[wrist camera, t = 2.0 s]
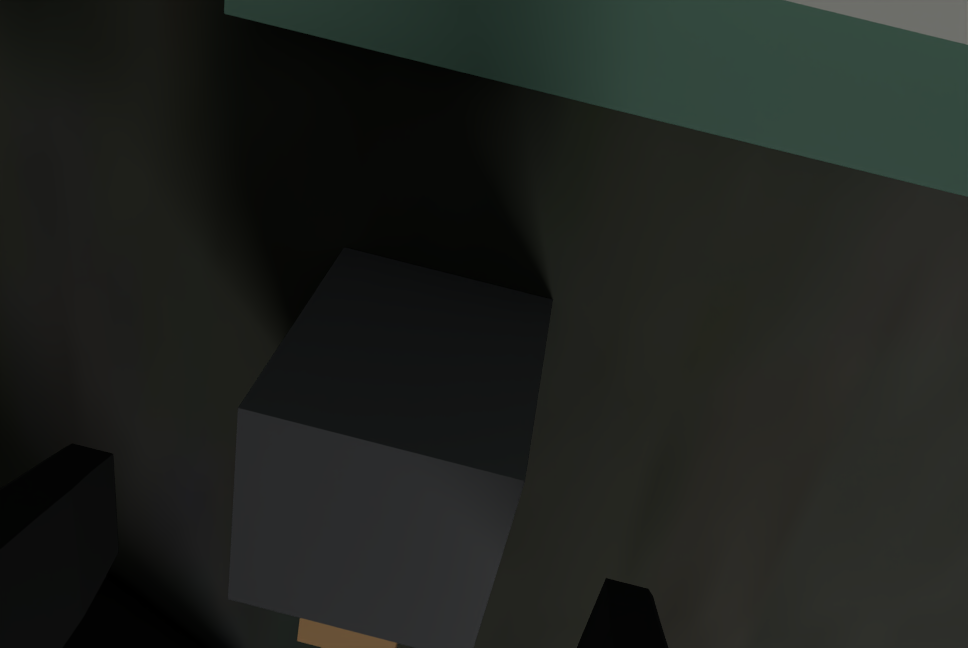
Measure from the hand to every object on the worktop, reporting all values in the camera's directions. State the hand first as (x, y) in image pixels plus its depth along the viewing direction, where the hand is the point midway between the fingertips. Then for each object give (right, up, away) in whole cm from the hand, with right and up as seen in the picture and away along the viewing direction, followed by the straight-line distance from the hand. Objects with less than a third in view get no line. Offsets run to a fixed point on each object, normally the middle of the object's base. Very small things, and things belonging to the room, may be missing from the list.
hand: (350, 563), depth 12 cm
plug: (+1, +3, +5) cm, 5 cm away
